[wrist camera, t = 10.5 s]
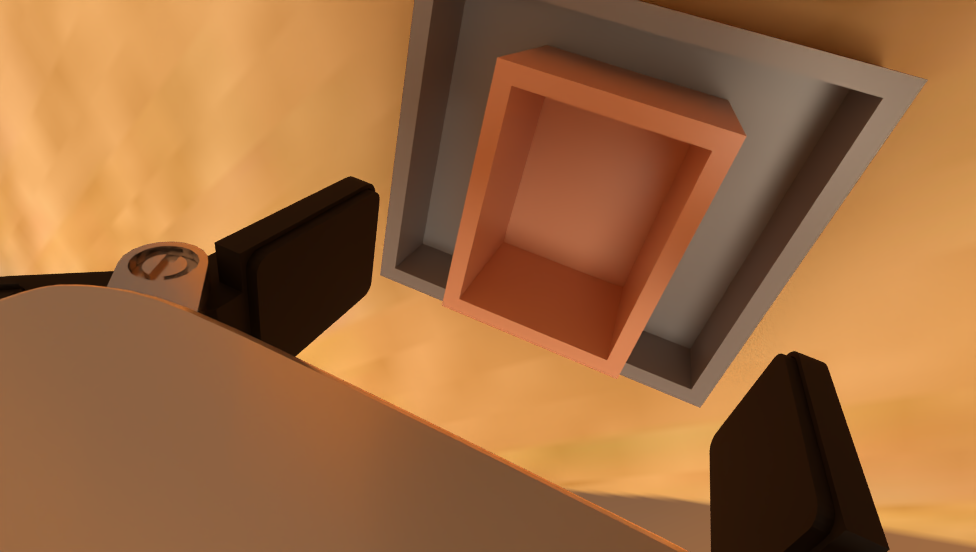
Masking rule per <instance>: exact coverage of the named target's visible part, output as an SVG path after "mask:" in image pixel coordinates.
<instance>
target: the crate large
mask: <svg viewBox="0 0 976 552" xmlns="http://www.w3.org/2000/svg"><path fill="white" fill-rule="evenodd" d="M545 45H548V46H551V47H555V48H558V49H561V50H565V51H568V52H571V53H574V54H578V55H581V56H584V57H588V58H591V59H594V60H597V61H601V62H604V63H607V64H610V65H614V66H617V67H620V68H624V69H627V70H630V71H633V72H637V73H640V74H643V75H647V76H650V77H653V78H656V79H660V80H663V81H666V82H669V83H673V84H676V85H679V86H683V87H686V88H689V89H692V90H696V91H699V92H702V93H706V94H709V95H712V96H715V97H719V98H722V99H725V100H728V101H729V103H730V105H731V107H732V109H733V111H734V112H735V114H736V116H737V118H738V120H739V122H740V124H741V126H742V128H743V130H744V132H745V134H746V136H747V137H746V138H745V140H744V142H743V144H742V146H741V148H740V150H739V152H738V153H737V155H736V157H735V159H734V161H733V163H732V165H731V167H730V168H729V170H728V172H727V174H726V176H725V178H724V180H723V182H722V183H721V185H720V187H719V189H718V191H717V193H716V195H715V197H714V198H713V200H712V202H711V204H710V206H709V208H708V210H707V212H706V213H705V215H704V217H703V219H702V221H701V223H700V225H699V226H698V228H697V230H696V232H695V234H694V236H693V238H692V240H691V241H690V243H689V245H688V247H687V249H686V251H685V253H684V255H683V256H682V258H681V260H680V262H679V264H678V266H677V268H676V270H675V271H674V273H673V275H672V277H671V279H670V281H669V283H668V285H667V286H666V288H665V290H664V292H663V294H662V296H661V298H660V300H659V301H658V303H657V305H656V307H655V309H654V311H653V313H652V315H651V316H650V318H649V320H648V322H647V324H646V326H645V328H644V330H643V331H642V333H641V335H640V337H639V339H638V341H637V343H636V345H635V346H634V348H633V350H632V352H631V354H630V356H629V358H628V360H627V361H626V363H625V365H624V367H623V369H622V371H621V373H620V375H623V376H625V377H627V378H630V379H632V380H635V381H637V382H639V383H642V384H644V385H647V386H649V387H652V388H654V389H656V390H659V391H661V392H664V393H666V394H668V395H671V396H673V397H676V398H678V399H680V400H683V401H685V402H688V403H690V404H693V405H695V406H697V407H701V406H702V404H703V403H704V402H705V400H706V399H707V397H708V396H709V394H710V393H711V391H712V390H713V389H714V387H715V386H716V384H717V383H718V381H719V380H720V379H721V377H722V376H723V374H724V373H725V371H726V370H727V368H728V367H729V366H730V364H731V363H732V361H733V360H734V358H735V357H736V355H737V354H738V353H739V351H740V350H741V348H742V347H743V345H744V344H745V342H746V341H747V340H748V338H749V337H750V335H751V334H752V332H753V331H754V330H755V328H756V327H757V325H758V324H759V322H760V321H761V319H762V318H763V317H764V315H765V314H766V312H767V311H768V309H769V308H770V306H771V305H772V304H773V302H774V301H775V299H776V298H777V296H778V295H779V293H780V292H781V291H782V289H783V288H784V286H785V285H786V283H787V282H788V281H789V279H790V278H791V276H792V275H793V273H794V272H795V270H796V269H797V268H798V266H799V265H800V263H801V262H802V260H803V259H804V257H805V256H806V255H807V253H808V252H809V250H810V249H811V247H812V246H813V244H814V243H815V242H816V240H817V239H818V237H819V236H820V234H821V233H822V232H823V230H824V229H825V227H826V226H827V224H828V223H829V221H830V220H831V219H832V217H833V216H834V214H835V213H836V211H837V210H838V208H839V207H840V206H841V204H842V203H843V201H844V200H845V198H846V197H847V195H848V194H849V193H850V191H851V190H852V188H853V187H854V185H855V184H856V183H857V181H858V180H859V178H860V177H861V175H862V174H863V172H864V171H865V170H866V168H867V167H868V165H869V164H870V162H871V161H872V159H873V158H874V157H875V155H876V154H877V152H878V151H879V149H880V148H881V146H882V145H883V144H884V142H885V141H886V139H887V138H888V136H889V135H890V134H891V132H892V131H893V129H894V128H895V126H896V125H897V123H898V122H899V121H900V119H901V118H902V116H903V115H904V113H905V112H906V110H907V109H908V108H909V106H910V105H911V103H912V102H913V100H914V99H915V97H916V96H917V95H918V93H919V92H920V90H921V89H922V87H923V86H924V85H925V83H926V82H927V80H926V79H923V78H919V77H916V76H912V75H909V74H905V73H901V72H898V71H894V70H891V69H887V68H884V67H880V66H876V65H873V64H869V63H865V62H862V61H858V60H854V59H851V58H847V57H843V56H840V55H836V54H833V53H829V52H825V51H822V50H818V49H814V48H811V47H807V46H803V45H800V44H796V43H792V42H789V41H785V40H781V39H778V38H774V37H770V36H767V35H763V34H760V33H756V32H752V31H749V30H745V29H741V28H738V27H734V26H730V25H727V24H723V23H719V22H716V21H712V20H708V19H705V18H701V17H698V16H694V15H690V14H687V13H683V12H679V11H676V10H672V9H668V8H665V7H661V6H657V5H654V4H650V3H646V2H643V1H639V0H414V8H413V16H412V24H411V32H410V40H409V48H408V56H407V64H406V72H405V80H404V88H403V96H402V104H401V112H400V120H399V128H398V136H397V145H396V153H395V161H394V169H393V177H392V185H391V193H390V201H389V209H388V217H387V225H386V233H385V241H384V249H383V257H382V265H381V273H380V275H381V276H384V277H386V278H388V279H391V280H393V281H396V282H398V283H401V284H403V285H405V286H408V287H410V288H413V289H415V290H417V291H420V292H422V293H425V294H427V295H429V296H432V297H434V298H437V299H439V300H442V301H443V298H444V294H445V289H446V285H447V280H448V276H449V271H450V267H451V262H452V258H453V253H454V249H455V244H456V240H457V236H458V231H459V227H460V222H461V218H462V213H463V209H464V204H465V200H466V195H467V191H468V186H469V182H470V177H471V173H472V168H473V164H474V159H475V155H476V150H477V146H478V141H479V137H480V133H481V128H482V124H483V119H484V115H485V110H486V106H487V101H488V97H489V92H490V88H491V83H492V79H493V74H494V70H495V65H496V61H497V57H501V56H505V55H509V54H513V53H517V52H521V51H525V50H529V49H533V48H537V47H541V46H545Z"/></svg>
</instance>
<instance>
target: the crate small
mask: <svg viewBox="0 0 976 552" xmlns="http://www.w3.org/2000/svg"><path fill="white" fill-rule="evenodd" d="M746 137H747V136H746V134H745V132H744V130H743V128H742V126H741V124H740V122H739V120H738V118H737V116H736V114H735V112H734V111H733V109H732V107H731V105H730V103H729V101H728V100H725V99H722V98H719V97H715V96H712V95H709V94H706V93H702V92H699V91H696V90H692V89H689V88H686V87H683V86H679V85H676V84H673V83H669V82H666V81H663V80H660V79H656V78H653V77H650V76H647V75H643V74H640V73H637V72H633V71H630V70H627V69H624V68H620V67H617V66H614V65H610V64H607V63H604V62H601V61H597V60H594V59H591V58H588V57H584V56H581V55H578V54H574V53H571V52H568V51H565V50H561V49H558V48H555V47H551V46H548V45H545V46H541V47H537V48H533V49H529V50H525V51H521V52H517V53H513V54H509V55H505V56H501V57H497V61H496V65H495V70H494V74H493V79H492V83H491V88H490V92H489V97H488V101H487V106H486V110H485V115H484V119H483V124H482V128H481V133H480V137H479V141H478V146H477V150H476V155H475V159H474V164H473V168H472V173H471V177H470V182H469V186H468V191H467V195H466V200H465V204H464V209H463V213H462V218H461V222H460V227H459V231H458V236H457V240H456V244H455V249H454V253H453V258H452V262H451V267H450V271H449V276H448V280H447V285H446V289H445V294H444V298H443V303H442V306H444V307H447V308H449V309H451V310H454V311H456V312H459V313H461V314H463V315H466V316H468V317H471V318H473V319H475V320H478V321H480V322H482V323H485V324H487V325H490V326H492V327H494V328H497V329H499V330H502V331H504V332H506V333H509V334H511V335H513V336H516V337H518V338H521V339H523V340H525V341H528V342H530V343H532V344H535V345H537V346H540V347H542V348H544V349H547V350H549V351H552V352H554V353H556V354H559V355H561V356H563V357H566V358H568V359H571V360H573V361H575V362H578V363H580V364H583V365H585V366H587V367H590V368H592V369H594V370H597V371H599V372H602V373H604V374H606V375H609V376H611V377H613V378H616V379H617V378H618V376H619V375H620V373H621V371H622V369H623V367H624V365H625V363H626V361H627V360H628V358H629V356H630V354H631V352H632V350H633V348H634V346H635V345H636V343H637V341H638V339H639V337H640V335H641V333H642V331H643V330H644V328H645V326H646V324H647V322H648V320H649V318H650V316H651V315H652V313H653V311H654V309H655V307H656V305H657V303H658V301H659V300H660V298H661V296H662V294H663V292H664V290H665V288H666V286H667V285H668V283H669V281H670V279H671V277H672V275H673V273H674V271H675V270H676V268H677V266H678V264H679V262H680V260H681V258H682V256H683V255H684V253H685V251H686V249H687V247H688V245H689V243H690V241H691V240H692V238H693V236H694V234H695V232H696V230H697V228H698V226H699V225H700V223H701V221H702V219H703V217H704V215H705V213H706V212H707V210H708V208H709V206H710V204H711V202H712V200H713V198H714V197H715V195H716V193H717V191H718V189H719V187H720V185H721V183H722V182H723V180H724V178H725V176H726V174H727V172H728V170H729V168H730V167H731V165H732V163H733V161H734V159H735V157H736V155H737V153H738V152H739V150H740V148H741V146H742V144H743V142H744V140H745V138H746Z"/></svg>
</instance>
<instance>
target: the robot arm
mask: <svg viewBox="0 0 976 552" xmlns="http://www.w3.org/2000/svg"><path fill="white" fill-rule="evenodd" d="M379 198H380V197H379V194H378V193H376V192H375V188H374V186H373V185H372V184H370V183H367V182H365V181H362V180H359V179H357V178H354V177H351V176H350V177H347V178H345V179H343V180H341V181H339V182H337V183H334V184H332V185H330V186H328V187H326V188H324V189H322V190H320V191H318V192H316V193H314V194H312V195H310V196H308V197H306V198H304V199H302V200H300V201H298V202H296V203H294V204H292V205H290V206H288V207H286V208H284V209H282V210H280V211H278V212H276V213H274V214H272V215H270V216H268V217H266V218H264V219H262V220H259V221H257V222H255V223H253V224H251V225H249V226H247V227H245V228H243V229H241V230H239V231H237V232H235V233H233V234H231V235H229V236H227V237H225V238H223V239H221V240H219V241H217V242H215V249H216V252H215V253H213V254H211V255H209V256H207V254H206V253H205V252H204V251H203V250H202V249H200V248H198V247H197V246H195V245H191V244H187V243H182V242H157V243H152V244H147V245H143V246H141V247H138V248H136V249H133V250H131V251H130V252H128V253H127V254H125V255H124V256H123V257H122V258H121V259H120V261H119V262H118V264H117V266H116V268H115V270H114V271H108V272H86V273H64V274H43V275H21V276H5V277H0V552H689V551H687V550H685V549H683V548H681V547H679V546H677V545H675V544H674V543H672V542H670V541H668V540H666V539H664V538H662V537H660V536H658V535H656V534H654V533H652V532H650V531H648V530H646V529H644V528H642V527H639V526H638V525H636V524H634V523H632V522H630V521H628V520H626V519H624V518H622V517H620V516H618V515H616V514H614V513H612V512H610V511H607V510H606V509H604V508H602V507H600V506H598V505H596V504H594V503H592V502H590V501H588V500H585V499H584V498H582V497H580V496H578V495H576V494H574V493H572V492H570V491H568V490H566V489H564V488H562V487H560V486H558V485H556V484H554V483H552V482H550V481H548V480H546V479H544V478H542V477H540V476H538V475H536V474H534V473H532V472H530V471H527V470H525V469H523V468H521V467H519V466H517V465H515V464H513V463H511V462H509V461H507V460H505V459H503V458H501V457H499V456H497V455H495V454H493V453H491V452H489V451H487V450H485V449H483V448H481V447H479V446H477V445H475V444H473V443H471V442H469V441H467V440H465V439H463V438H461V437H459V436H456V435H454V434H452V433H450V432H448V431H446V430H444V429H442V428H440V427H438V426H436V425H434V424H432V423H430V422H428V421H426V420H424V419H422V418H420V417H418V416H416V415H414V414H412V413H410V412H408V411H406V410H404V409H401V408H399V407H397V406H395V405H393V404H391V403H389V402H387V401H385V400H383V399H381V398H379V397H377V396H375V395H373V394H371V393H369V392H367V391H364V390H362V389H360V388H358V387H356V386H354V385H352V384H350V383H348V382H346V381H344V380H342V379H340V378H338V377H336V376H334V375H331V374H329V373H327V372H325V371H323V370H321V369H319V368H317V367H315V366H313V365H311V364H309V363H307V362H305V361H303V360H301V359H298V358H296V357H295V356H296V355H298V354H299V353H300V352H301V351H302V350H303V349H304V348H306V347H307V346H308V345H309V344H310V343H311V342H313V341H314V340H315V339H316V338H317V337H318V336H319V335H321V334H322V333H323V332H324V331H325V330H326V329H327V328H329V327H330V326H331V325H332V324H333V323H334V322H335V321H337V320H338V319H339V318H340V317H341V316H342V315H344V314H345V313H346V312H347V311H348V310H349V309H350V308H352V307H353V306H354V305H355V304H356V303H357V302H358V301H360V300H361V299H362V298H363V297H364V296H365V295H366V294H367V292H368V291H369V289H370V286H371V281H372V271H373V261H374V251H375V241H376V231H377V221H378V211H379ZM710 511H711V552H887V551H888V550H889V547H888V543H887V541H886V537H885V534H884V532H883V529H882V526H881V523H880V520H879V517H878V514H877V511H876V508H875V505H874V502H873V499H872V496H871V493H870V490H869V487H868V484H867V482H866V479H865V476H864V473H863V470H862V467H861V464H860V461H859V458H858V455H857V452H856V449H855V446H854V443H853V440H852V437H851V434H850V432H849V429H848V426H847V423H846V420H845V417H844V414H843V411H842V408H841V405H840V402H839V399H838V396H837V393H836V390H835V387H834V384H833V382H832V379H831V376H830V373H829V370H828V367H827V365H826V364H825V363H823V362H821V361H819V360H816V359H813V358H811V357H808V356H806V355H803V354H801V353H798V352H796V351H793V352H790V353H789V354H788V355H784V354H778V355H777V356H776V357H775V358H774V359H773V360H772V362H771V363H770V364H769V365H768V367H767V368H766V369H765V371H764V372H763V373H762V375H761V376H760V377H759V378H758V380H757V381H756V382H755V384H754V385H753V386H752V387H751V389H750V390H749V391H748V393H747V394H746V395H745V396H744V398H743V399H742V400H741V402H740V403H739V404H738V406H737V407H736V408H735V409H734V411H733V412H732V413H731V415H730V416H729V417H728V418H727V420H726V421H725V422H724V424H723V425H722V426H721V428H720V429H719V430H718V431H717V433H716V434H715V436H714V437H713V440H712V442H711V446H710Z"/></svg>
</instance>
